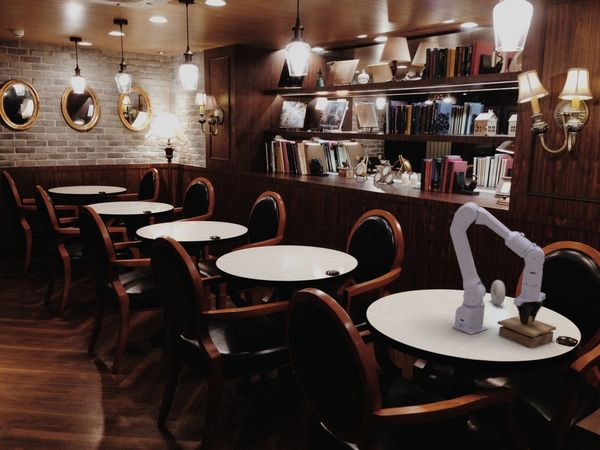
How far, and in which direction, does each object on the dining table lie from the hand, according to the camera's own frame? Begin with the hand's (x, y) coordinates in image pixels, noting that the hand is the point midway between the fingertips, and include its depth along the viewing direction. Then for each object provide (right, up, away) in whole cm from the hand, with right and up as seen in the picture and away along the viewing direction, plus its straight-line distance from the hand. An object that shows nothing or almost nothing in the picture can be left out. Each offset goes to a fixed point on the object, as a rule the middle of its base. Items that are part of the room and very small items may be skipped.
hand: (526, 322), depth 178 cm
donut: (+3, +1, +35) cm, 35 cm away
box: (0, -5, +1) cm, 6 cm away
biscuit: (+1, -5, +5) cm, 7 cm away
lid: (0, -1, 0) cm, 1 cm away
